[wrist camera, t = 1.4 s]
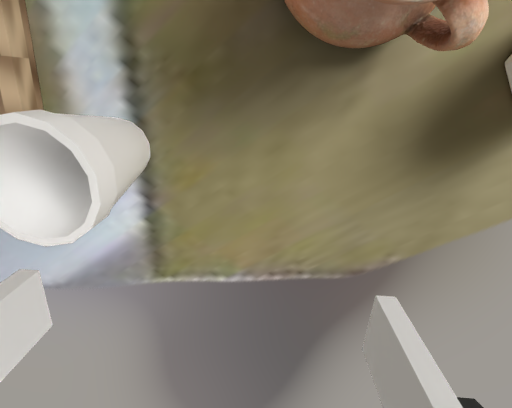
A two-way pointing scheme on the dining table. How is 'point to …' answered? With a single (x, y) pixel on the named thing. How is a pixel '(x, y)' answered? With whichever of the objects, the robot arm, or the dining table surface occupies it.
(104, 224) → the dining table surface
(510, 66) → the jar
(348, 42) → the ceramic jug
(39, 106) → the track
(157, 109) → the dining table surface
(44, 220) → the foam cup
